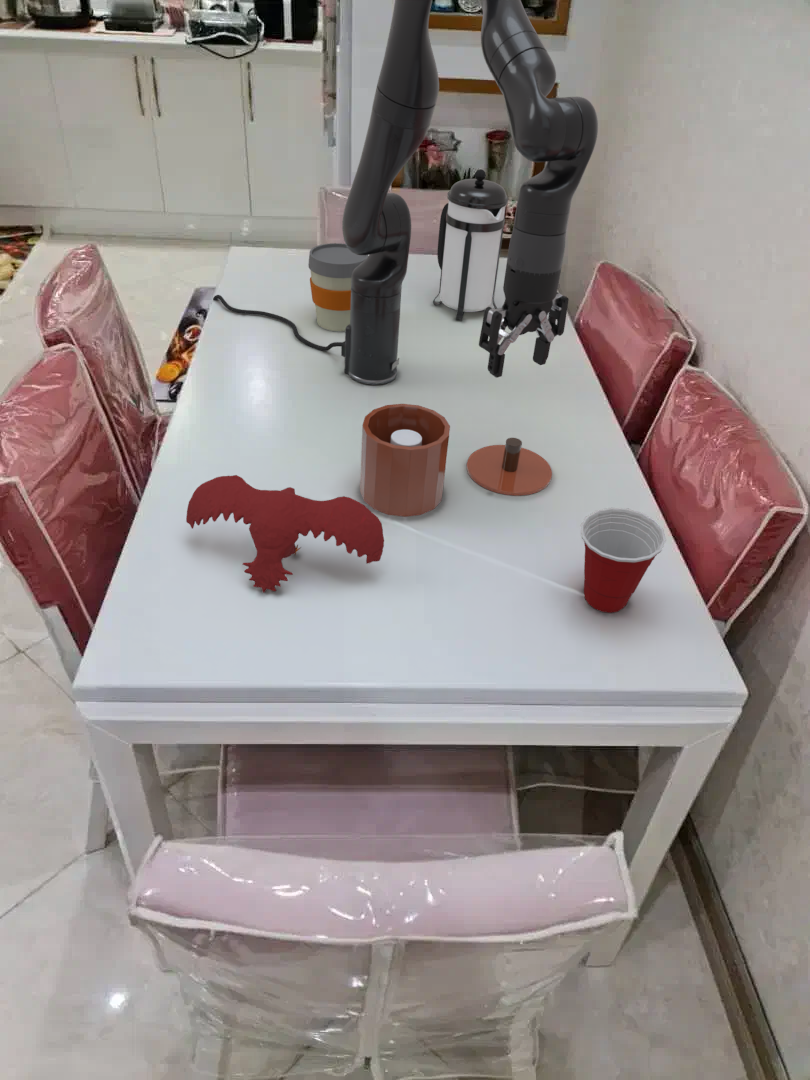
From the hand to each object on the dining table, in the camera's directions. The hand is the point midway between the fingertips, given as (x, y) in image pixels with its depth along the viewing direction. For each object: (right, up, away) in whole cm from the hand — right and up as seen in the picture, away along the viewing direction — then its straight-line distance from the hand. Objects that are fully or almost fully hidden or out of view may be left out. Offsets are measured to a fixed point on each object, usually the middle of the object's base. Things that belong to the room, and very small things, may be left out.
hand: (517, 368), depth 121 cm
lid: (0, -14, +12) cm, 19 cm away
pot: (-17, -18, +6) cm, 26 cm away
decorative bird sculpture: (-34, -29, -8) cm, 46 cm away
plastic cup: (+10, -34, -10) cm, 37 cm away
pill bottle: (-17, -18, +6) cm, 26 cm away
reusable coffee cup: (-31, +21, +54) cm, 66 cm away
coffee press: (-4, +28, +65) cm, 71 cm away
